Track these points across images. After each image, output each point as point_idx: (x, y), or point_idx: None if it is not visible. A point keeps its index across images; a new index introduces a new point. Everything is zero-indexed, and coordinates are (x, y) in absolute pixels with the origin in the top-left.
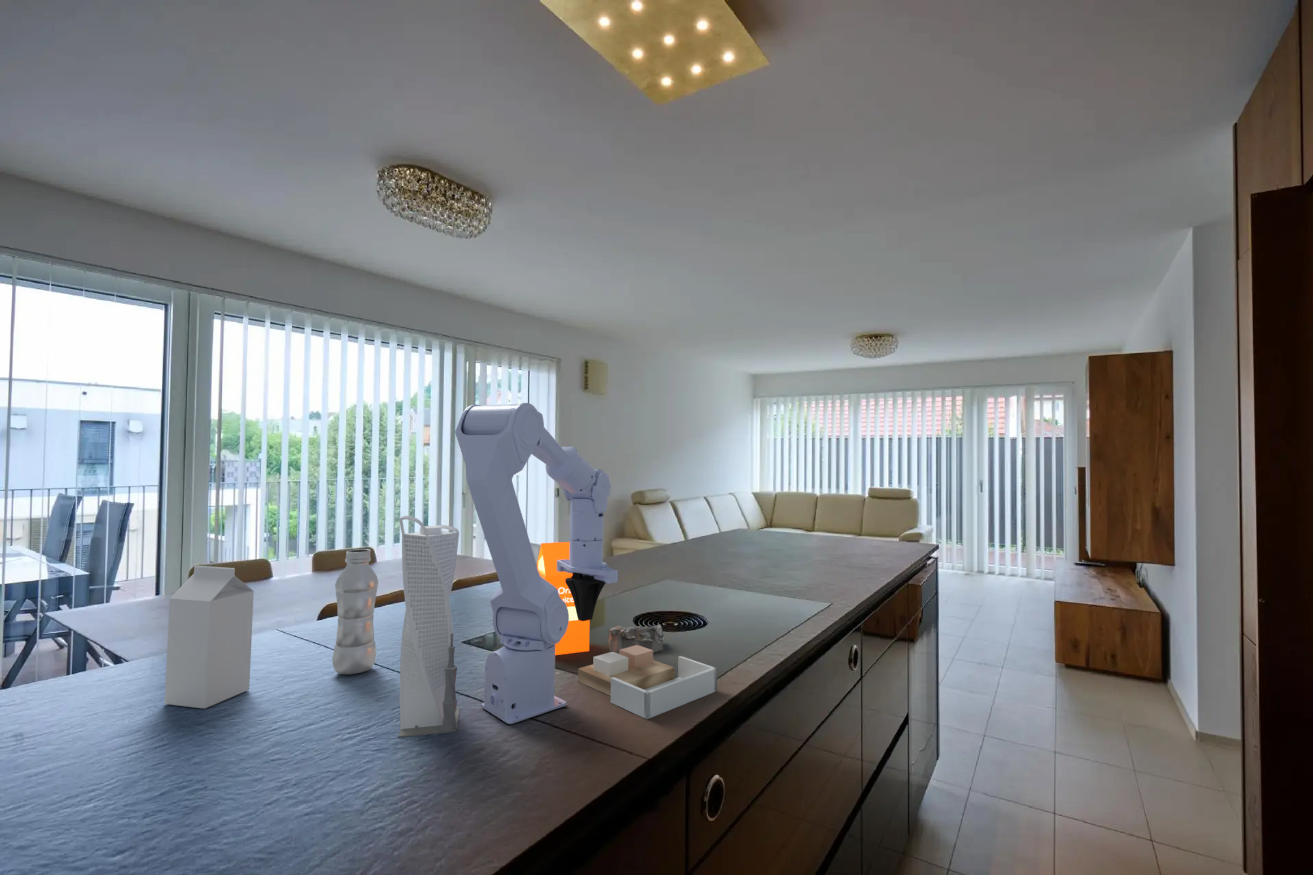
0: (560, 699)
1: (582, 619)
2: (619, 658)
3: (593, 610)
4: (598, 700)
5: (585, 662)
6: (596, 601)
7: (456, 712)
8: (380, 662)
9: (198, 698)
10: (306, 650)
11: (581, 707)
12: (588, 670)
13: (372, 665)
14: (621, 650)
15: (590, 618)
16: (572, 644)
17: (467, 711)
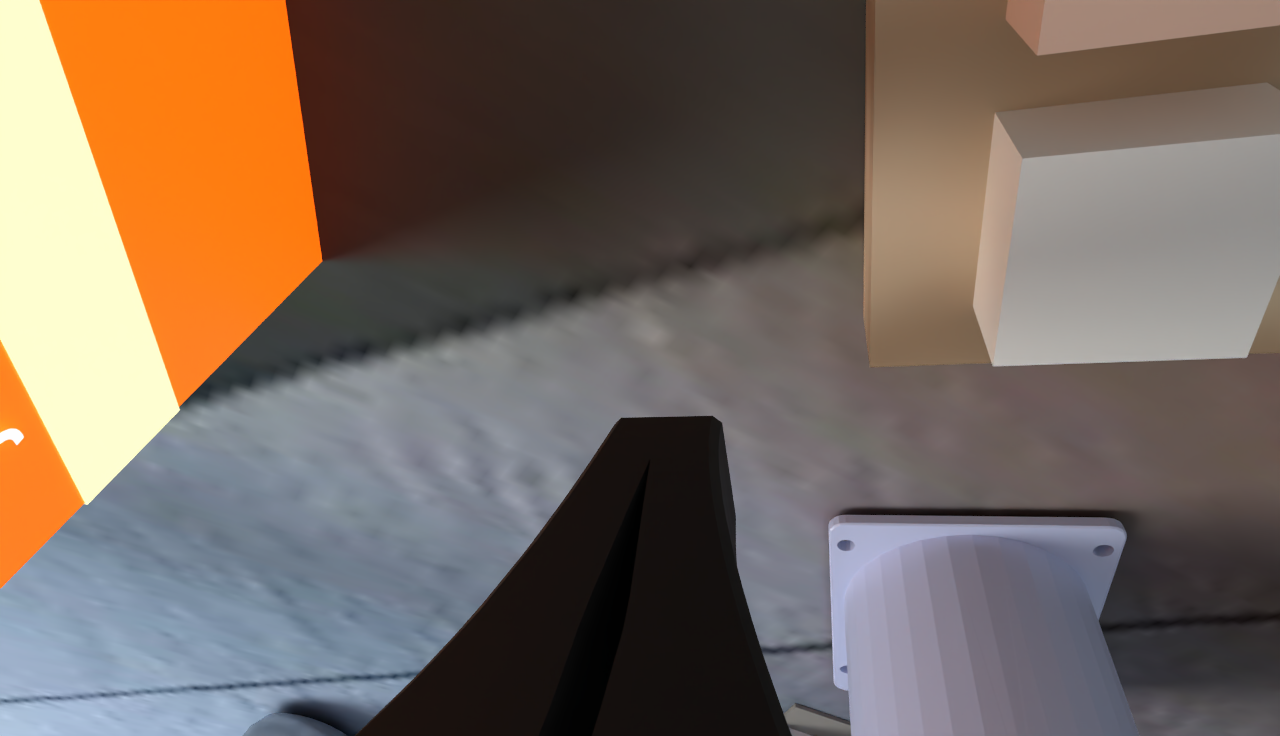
0: (1067, 531)
1: (735, 543)
2: (1249, 218)
3: (720, 498)
4: (1223, 378)
5: (554, 83)
6: (747, 607)
7: (818, 718)
8: (239, 675)
9: None
10: (88, 726)
11: (1199, 477)
12: (959, 337)
13: (319, 729)
14: (1078, 47)
15: (721, 447)
16: (252, 75)
17: (829, 698)
